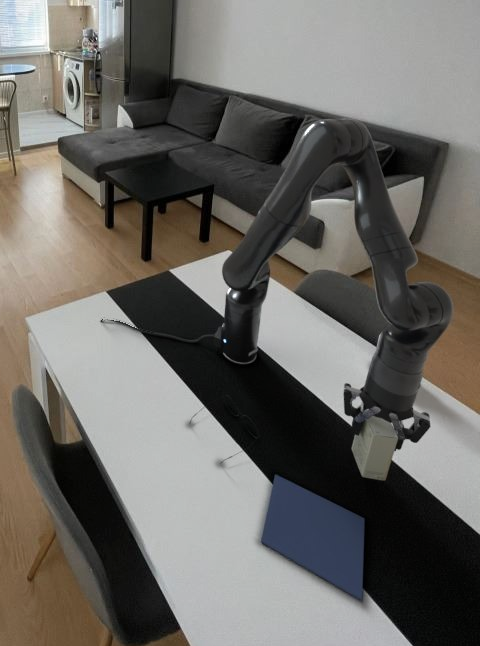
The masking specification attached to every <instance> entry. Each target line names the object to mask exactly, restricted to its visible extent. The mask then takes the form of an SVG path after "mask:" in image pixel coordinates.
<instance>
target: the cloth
mask: <svg viewBox="0 0 480 646" xmlns="http://www.w3.org/2000/svg"><path fill="white" fill-rule="evenodd" d="M365 521H366V519H365V518H364V517H362V516H360V515H358V514H356V513H354V512H353V511H350V510H348V509H346V508H344V507H343V506H341V505H338V504H336V503H334V502H332V501H330V500H328V499H326V498H324V497H322V496H320V495H318V494H316V493H314V492H313V491H310V490H308V489H306V488H304V487H302V486H300V485H298V484H296V483H294V482H292V481H290V480H289V479H286V478H284V477H282V476H280V475H278V474H274V477H273V483H272V488H271V493H270V497H269V502H268V506H267V511H266V515H265V520H264V525H263V529H262V536H261V539H260V543H261V544H263V545H264V546H266V547H268V548H270V549H272V550H273V551H275V552H277V554H279V555H281V556H284V557H285V558H287V559H289V560H290V561H291V562H294V563H295V564H297V565H298V566H300V567H302V568H304V569H306V570H307V571H309V572H310V573H312V574H314V575H315V576H317V577H320V578H321V579H322V580H324V581H326V582H328V583H330V584H331V585H333V586H335V587H337V588H338V589H340V590H341V591H343V592H345V593H346V594H349V595H350V596H352V597H353V598H356V599H357V600H359V601H360V602H363V589H364V588H363V586H364V558H365V557H364V556H365V553H364V552H365V551H364V549H365V524H366V523H365Z"/></svg>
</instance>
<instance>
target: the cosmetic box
mask: <svg viewBox="0 0 480 646" xmlns="http://www.w3.org/2000/svg"><path fill="white" fill-rule="evenodd" d="M397 441H398V436H397V434H396V432H395V430H394V427H393V424H392V423H390V422H387V421H385V420H384V419H382V418H378V417H375V416H372V417H370V418H369V419H365V420H363V421H362V426H361V430H360V433H359V436H358V435H355V434H354V436H353V441H352V445H351V452H352V454H353V457H354V460H355V462H356V465H357V468H358V469H359V472H360V475H361V477H362V478H366V479H371V480H372V479H373V480H378V481H386V480H387V477H388V473H389V469H390V466H391V463H392V460H393V457H394V455H395V454H394V453H395V451H394V450H395V447H396V444H397Z"/></svg>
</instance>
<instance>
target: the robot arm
mask: <svg viewBox="0 0 480 646" xmlns="http://www.w3.org/2000/svg"><path fill="white" fill-rule="evenodd" d="M373 140H374V139H373V137H372V135H371V133H370V131H369V129H368V127H367V126H366V125H365V123H363V122H362V121H360V120H358V119H355V118H325V119H319V120H316V121H314V122H313V123H311V124H309V125H308V126H307V128H306V129H305V130H304V131H303V133H302V135H301V137H300V139H299V140H298V142H297V144H296V147H295V149H294V151H293V152H292V155H291V157H290V159H289V161H288V164H287V165H286V168H285V169H284V171H283V173H282V174H281V176H280V178H279V179H278V181H277V182H276V184H275V186H274V187H273V189H272V191H271V192H270V194H269V195H268V196H267V197H266V199H265V201H264V203H263V204H262V205H261V207H260V209H259V210H258V213H257V214H256V215H255V218H254V219H253V221H252V222H251V224H250V226H249V228H248V229H247V231H246V232H245V235H244V236H243V238H242V240H241V241H240V243H239V244H238V245H237V247H236V248H235V249H234V250H233V251H232V252H231V253H230V254H229V255H228V257H227V258H226V259H225V260H224V262H223V264H222V267H221V275H222V279H223V281H224V283H225V284H226V286H227V287H228V289H227V290H226V293H225V301H224V302H225V304H224V313H223V314H224V315H223V323H222V326H218V328H217V331H216V332H215V333H213V334H204V335H201V336H200V337H198V338H197V339H185V338H182V337H179V336H175V335H172V334H167V333H161V332H157V331H156V332H155V331H153V332H154V333H151V332H152V331H151V330H149V331H150V332H147V331H148V330H146V331H143V330H144V329H142V328H139V327H137V328H139V329H137V328H135V327H136V326H134V325H132V326H134V327H132V326H130V325H131V324H130V325H128V324H129V323H128V324H126V323H127V322H126V321H123V322H125V323H123V322H120V321H121V320H119V319H118V320H119V321H114V320H109V322H113V323H117V324H120V325H124V326H125V327H128V328H131V329H133V330H134V331H137V332H140V333H143V334H147V335H151V336H156V337H163V338H168V339H173V340H175V341H179V342H183V343H188V344H198V343H200V342H201V341H203V340H205V339H208V338H209V339H211V338H213V346H215V347H216V348H219V352H218V353H219V354H220V355H222V356H223V357H224V358H225V359H226V360H227V362H229V363H232V364H234V365H238V366H250V365H252V364H253V363H254V362H255V361H256V359H257V352H258V351H259V347H258V342H259V334H260V326H261V317H262V309H263V304H264V303H265V300H266V298H267V295H268V290H269V283H270V278H271V265H270V262H269V260H270V259H271V258H272V257H274V256H275V254H277V253H278V252H279V251H281V250H282V249H283V248H284V247H285V246H286V245H287V244H288V243H289V242H290V241H291V240H292V239H293V238H294V237H295V236H296V235H297V234H298V233H299V231H300V230H301V228H302V227H303V226H304V225H305V224H306V222H307V221H308V219H309V217H310V215H311V211H312V192H313V189H314V187H315V186H316V185H317V183H318V181H319V180H320V179H321V177H322V176H323V175H324V174H325V173H326V172H327V171H328V170H329V169H331V167H334V166H335V167H336V166H342V168H343V170H344V171H345V173H346V175H347V176H348V178H349V180H350V182H351V186H352V190H353V197H354V208H353V211H354V214H353V215H354V217H353V219H354V225H355V230H356V233H357V236H358V239H359V241H360V243H361V245H362V248H363V250H364V252H365V254H366V256H367V257H366V258H368V261H369V263H370V265H371V273H372V279H373V285H374V286H373V287H374V292H375V298H376V303H377V306H378V309H379V311H380V313H381V315H382V316H383V318H384V319H385V320H386V321H387V323H388V324H386V325H385V326H384V327H383V328H382V329H381V332H380V334H379V336H380V337H379V336H378V340H379V341H378V340H377V344H378V345H377V344H376V348H375V351H374V352H373V355H372V357H371V361H370V363H369V367H368V371H367V375H366V379H365V382H364V385H363V386H362V387H360V389H358V388H354V387H352V385H351V384H350V383H347V382H345V383H343V411H344V415H345V416H347V417H351V418H352V421H351V430H352V431H353V432H354V436H355V435H358V436H359V433H360V430H361V426H362V421H363V420H365V419H369V418H370V417H372V416H375V417H378V418H382V419H384V420H385V421H387V422H390V423H391V424H392V426H393V428H394V430H395V432H396V434H397V436H398V441H397V444H396V447H395V450H394V452H397V450H398V451H400V450H402V448H403V444H404V442H405V440H409V441H410V442H411V443H413V444H417V443H419V441H421V439H422V438H423V437H424V435H425V434H426V433H427V432H428V431H429V430H430V428H431V417H430V414H429V413H428V412H426V411H422V412H418V411H417V410H415V409H414V404H415V401H416V398H417V395H418V393H419V390H420V388H421V386H422V379H423V374H424V369H425V365H426V362H427V359H428V356H429V353H430V351H431V349H432V348H433V347H434V346H435V345H436V344H437V343H438V342H439V339H440V338H441V337H442V336H443V334H444V333H445V332H446V330H447V329H448V327H449V326H450V324H451V323H452V319H453V317H454V304H453V300H452V298H451V296H450V294H449V292H447V290H446V289H445V288H443V287H442V286H441V285H440V284H437V283H434V282H431V281H417V282H413V283H408V275H407V272H408V270H410V269H412V268H413V267H415V266H416V265H417V264H418V262H419V257H418V254H417V253H416V250H415V249H414V246H413V244H412V242H411V240H410V238H409V237H408V234H407V232H406V231H405V228H404V226H403V224H402V222H401V220H400V217H399V216H398V214H397V212H396V208H395V206H394V205H393V202H392V198H391V196H390V192H389V189H388V187H387V183H386V179H385V177H384V173H383V170H382V167H381V164H380V160H379V157H378V153H377V151H376V147H375V143H374V141H373ZM101 319H102V318H101ZM102 320H103V319H102ZM140 329H142V330H140ZM357 397H358V398H359V399H360V400H361V403H360V404H359V405H358V406H356V407H355V406H353V401H354V400H357ZM412 418H413V423H411V425H410V427H405V425H404V422H403V421H405V420H408V419H412Z"/></svg>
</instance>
